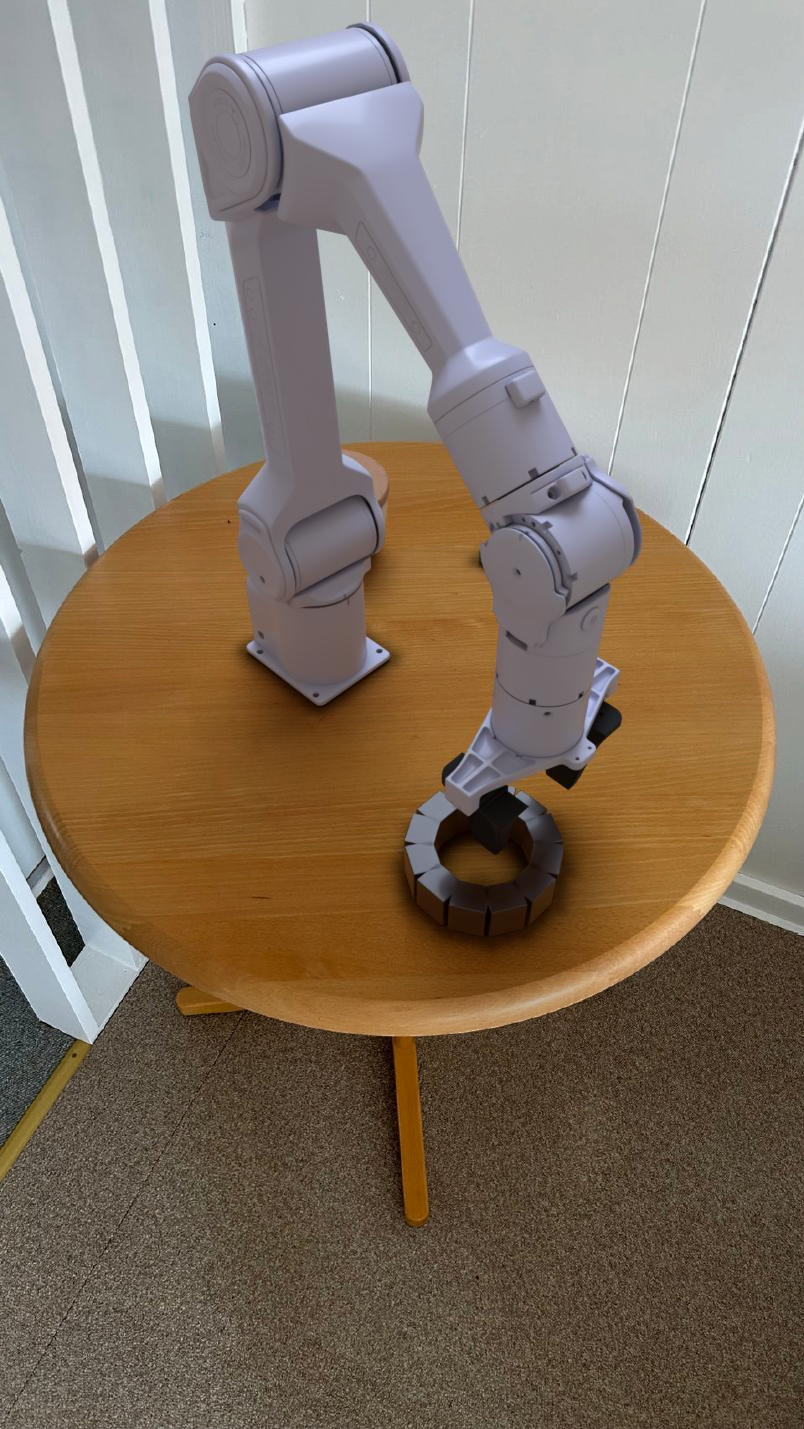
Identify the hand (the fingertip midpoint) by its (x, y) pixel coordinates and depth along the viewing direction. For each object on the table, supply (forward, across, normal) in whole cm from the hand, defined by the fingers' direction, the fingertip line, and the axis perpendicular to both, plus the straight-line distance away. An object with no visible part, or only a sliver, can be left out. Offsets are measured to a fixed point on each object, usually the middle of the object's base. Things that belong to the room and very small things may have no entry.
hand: (524, 811), depth 67 cm
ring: (+3, -4, 0) cm, 5 cm away
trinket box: (+3, +12, +33) cm, 35 cm away
